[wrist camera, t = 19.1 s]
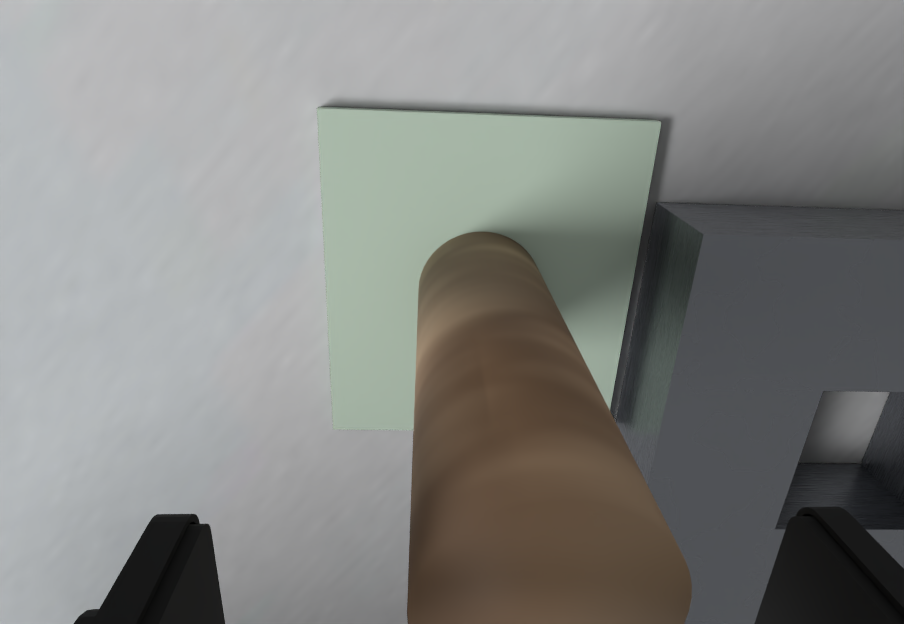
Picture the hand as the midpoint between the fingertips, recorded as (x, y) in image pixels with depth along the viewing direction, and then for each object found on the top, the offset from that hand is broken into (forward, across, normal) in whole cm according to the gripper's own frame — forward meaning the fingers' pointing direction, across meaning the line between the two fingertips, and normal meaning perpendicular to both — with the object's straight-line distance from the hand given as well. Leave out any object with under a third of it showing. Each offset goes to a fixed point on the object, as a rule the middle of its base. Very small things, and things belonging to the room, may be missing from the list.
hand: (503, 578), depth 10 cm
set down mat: (+11, -1, -1) cm, 11 cm away
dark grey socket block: (+11, -14, +4) cm, 18 cm away
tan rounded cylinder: (+11, -1, -1) cm, 11 cm away
